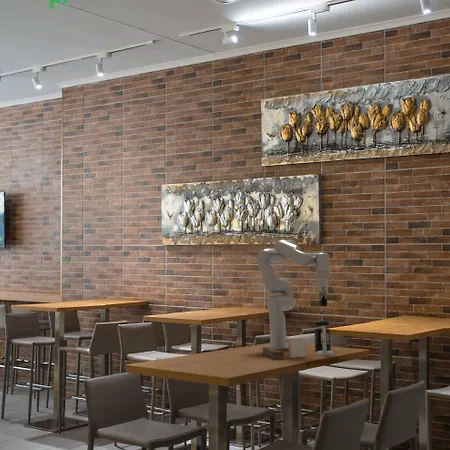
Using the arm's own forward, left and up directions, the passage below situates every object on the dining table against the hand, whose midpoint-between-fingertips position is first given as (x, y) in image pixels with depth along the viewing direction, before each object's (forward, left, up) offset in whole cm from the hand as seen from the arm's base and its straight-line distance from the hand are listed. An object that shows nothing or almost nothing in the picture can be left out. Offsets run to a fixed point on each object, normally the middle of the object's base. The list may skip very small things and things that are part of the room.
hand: (324, 305), depth 417 cm
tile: (+8, -19, -27) cm, 34 cm away
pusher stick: (-1, -31, -27) cm, 41 cm away
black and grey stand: (+5, -2, -27) cm, 27 cm away
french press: (-11, +3, -27) cm, 29 cm away
